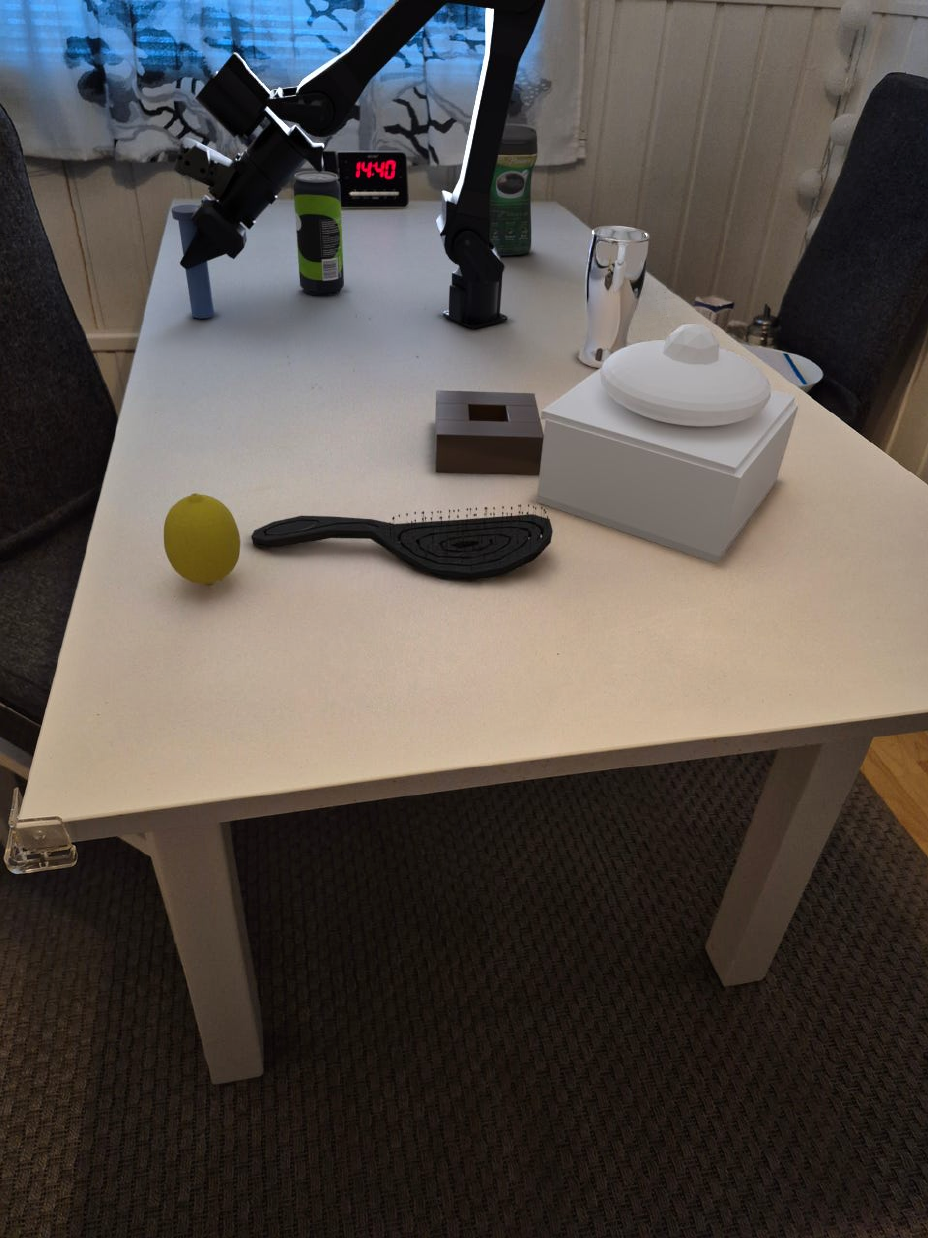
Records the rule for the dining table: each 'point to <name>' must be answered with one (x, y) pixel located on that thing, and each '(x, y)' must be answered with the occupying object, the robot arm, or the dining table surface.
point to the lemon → (201, 539)
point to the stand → (487, 432)
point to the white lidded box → (668, 443)
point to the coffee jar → (513, 190)
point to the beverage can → (319, 232)
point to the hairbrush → (429, 541)
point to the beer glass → (612, 289)
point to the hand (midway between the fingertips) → (184, 262)
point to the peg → (199, 273)
